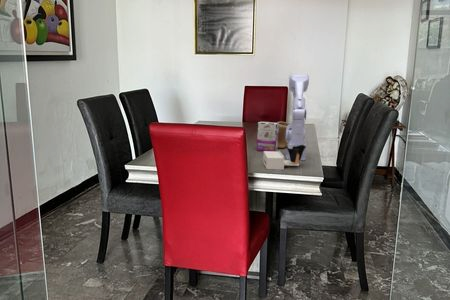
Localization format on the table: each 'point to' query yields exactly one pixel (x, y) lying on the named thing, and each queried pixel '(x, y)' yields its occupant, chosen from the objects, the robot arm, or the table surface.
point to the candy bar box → (267, 136)
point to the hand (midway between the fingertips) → (295, 160)
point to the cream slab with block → (288, 162)
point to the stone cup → (282, 134)
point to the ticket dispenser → (273, 160)
